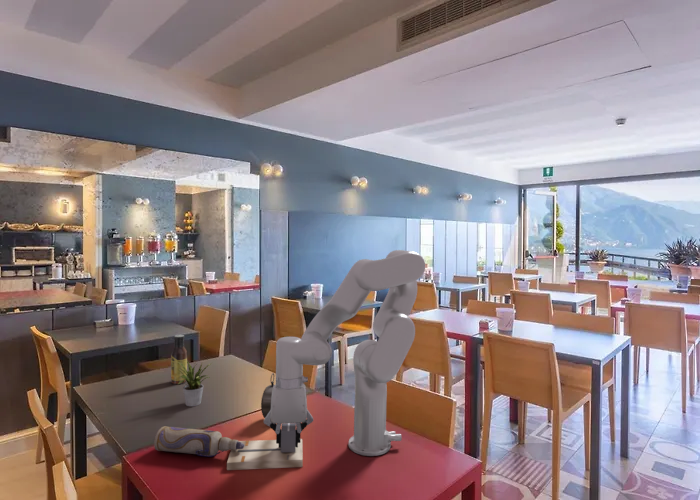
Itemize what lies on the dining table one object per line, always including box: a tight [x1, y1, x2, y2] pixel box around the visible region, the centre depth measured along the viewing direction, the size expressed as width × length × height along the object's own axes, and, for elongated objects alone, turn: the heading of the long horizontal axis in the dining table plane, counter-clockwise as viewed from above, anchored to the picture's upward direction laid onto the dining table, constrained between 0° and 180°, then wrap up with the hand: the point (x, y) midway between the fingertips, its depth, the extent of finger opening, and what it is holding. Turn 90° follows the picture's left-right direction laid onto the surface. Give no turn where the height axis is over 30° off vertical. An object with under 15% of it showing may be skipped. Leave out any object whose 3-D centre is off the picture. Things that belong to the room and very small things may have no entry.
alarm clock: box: [260, 372, 275, 420], centre depth 146 cm, size 11×5×16 cm, turn 168°
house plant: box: [175, 360, 213, 407], centre depth 160 cm, size 14×14×16 cm
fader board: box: [226, 438, 304, 471], centre depth 123 cm, size 20×12×2 cm, turn 97°
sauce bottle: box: [170, 334, 188, 385], centre depth 182 cm, size 6×6×20 cm
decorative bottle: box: [153, 425, 244, 458], centre depth 123 cm, size 26×8×7 cm, turn 79°
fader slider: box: [281, 423, 297, 453], centre depth 123 cm, size 4×5×6 cm
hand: (288, 444), depth 123 cm, fingers closed on fader slider, 4 cm apart
